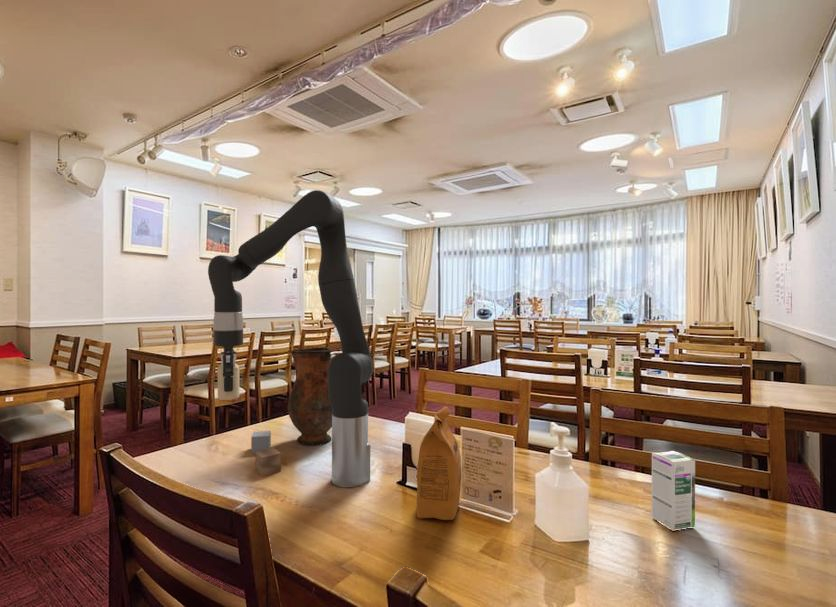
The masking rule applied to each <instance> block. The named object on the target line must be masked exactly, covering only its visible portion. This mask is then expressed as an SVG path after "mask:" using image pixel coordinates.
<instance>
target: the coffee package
mask: <svg viewBox="0 0 836 607" xmlns="http://www.w3.org/2000/svg"><path fill="white" fill-rule="evenodd" d="M450 415H451V410H450V409H449V407H448V406H444V407H442V408H441V409H439V410H438V411H436V413H434V418H433V419H434V421H433V424H432V425H431V427H430V428H429V429H428V431H427V432H426V433H425V434H424V436H423V438H422V441H421V443H420V447H419V452H418V460H417V469H416V487H417V488H416V507H415V509H416V510H415V511H416V517H417V518H418V519H438V520H442V521H450V520H451V521H453V520H454V519H455V518H456V516H457V512H458V509H459V504H460V498H461V486H462V459H461V458H462V457H461V451H460V447H459V444H458V440H457V439H456V437H455V435H454V434H453V432H452V431H451V429H450V426H449V423H448V421H447V420H448V419H447V417H449V416H450Z"/></svg>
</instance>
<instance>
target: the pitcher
mask: <svg viewBox="0 0 836 607" xmlns="http://www.w3.org/2000/svg"><path fill="white" fill-rule="evenodd" d="M331 352H332V349H331V348H330V347H329V348H328V347H312V348H311V347H310V348H303V349H292V350H290V354H291V355H292V360H293V364H294V369H295V380H294V383H293V386H292V389H291V392H290V394H289V396H288V397H289V399H288V403H287V411H288V417H289V419H290V420H291V422H292V425H293V426H294V427H295V428H296V429H297V431H299V433H300V435H299V436H298V437H297V438H296V442H297V443H299V444H300V445H303V444H305V445H304V446H321V445H320V444H322V445H326V444H328V443H330V441H331V442H332V435H331V436H330V434H328V433H329V431H330V430H332V408H331V405H330V402H329V392H328V368H329V364H330V361H331V360H332V356H335V355H337V354H340V353H341V352H334V353H331ZM327 442H328V443H327Z"/></svg>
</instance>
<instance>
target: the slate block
mask: <svg viewBox="0 0 836 607" xmlns="http://www.w3.org/2000/svg"><path fill="white" fill-rule="evenodd" d="M250 440H251V441H250V442H251V444H250V445H251V451H250V452H251V454H256V452H258V451H262V450H267V449H271V446H272V430H258V431H253V433H252V435H251V438H250Z"/></svg>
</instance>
